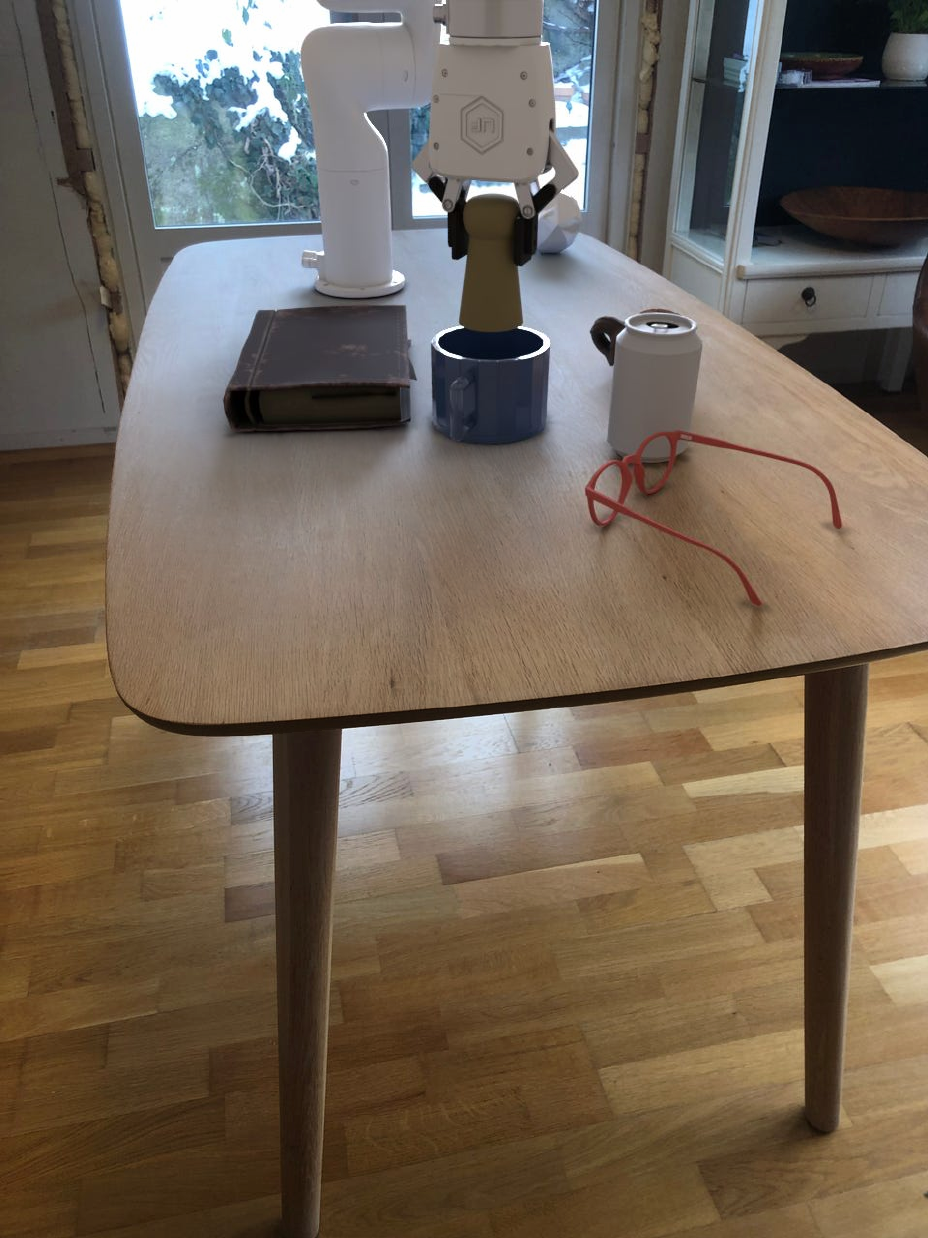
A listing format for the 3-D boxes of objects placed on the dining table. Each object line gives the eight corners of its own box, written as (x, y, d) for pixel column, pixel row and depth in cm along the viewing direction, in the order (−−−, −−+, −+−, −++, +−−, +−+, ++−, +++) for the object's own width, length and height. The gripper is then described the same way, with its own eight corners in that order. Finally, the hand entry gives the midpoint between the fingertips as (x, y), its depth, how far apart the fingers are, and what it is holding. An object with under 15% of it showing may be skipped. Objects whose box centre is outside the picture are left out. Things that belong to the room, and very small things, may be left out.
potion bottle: (548, 270, 148) (530, 258, 161) (600, 229, 146) (577, 220, 159) (514, 218, 144) (498, 210, 157) (567, 175, 142) (546, 171, 155)
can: (692, 439, 91) (710, 312, 84) (680, 471, 85) (699, 338, 78) (614, 429, 93) (626, 304, 86) (598, 460, 87) (609, 329, 80)
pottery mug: (692, 368, 109) (715, 316, 101) (668, 429, 105) (690, 380, 97) (593, 331, 110) (609, 277, 102) (566, 390, 106) (580, 339, 98)
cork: (524, 313, 91) (529, 189, 85) (521, 332, 86) (526, 202, 80) (462, 311, 92) (461, 187, 86) (455, 330, 87) (454, 201, 81)
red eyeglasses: (672, 468, 86) (679, 416, 83) (847, 523, 77) (862, 466, 74) (561, 542, 75) (565, 484, 72) (752, 615, 66) (764, 553, 63)
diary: (226, 434, 92) (218, 384, 89) (256, 350, 112) (250, 307, 110) (419, 429, 93) (418, 379, 90) (414, 346, 113) (412, 303, 111)
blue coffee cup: (458, 394, 101) (457, 318, 96) (560, 409, 97) (564, 330, 93) (399, 448, 89) (395, 364, 85) (512, 467, 86) (515, 381, 81)
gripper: (377, 22, 75) (388, 260, 86) (587, 26, 70) (571, 279, 80) (416, 18, 81) (421, 242, 91) (612, 22, 76) (594, 258, 86)
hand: (491, 257), depth 86 cm, fingers closed on cork, 5 cm apart
